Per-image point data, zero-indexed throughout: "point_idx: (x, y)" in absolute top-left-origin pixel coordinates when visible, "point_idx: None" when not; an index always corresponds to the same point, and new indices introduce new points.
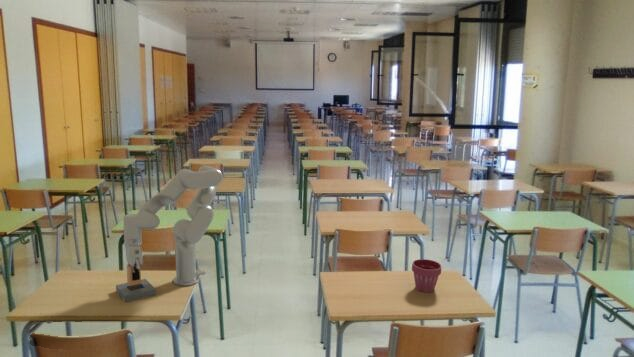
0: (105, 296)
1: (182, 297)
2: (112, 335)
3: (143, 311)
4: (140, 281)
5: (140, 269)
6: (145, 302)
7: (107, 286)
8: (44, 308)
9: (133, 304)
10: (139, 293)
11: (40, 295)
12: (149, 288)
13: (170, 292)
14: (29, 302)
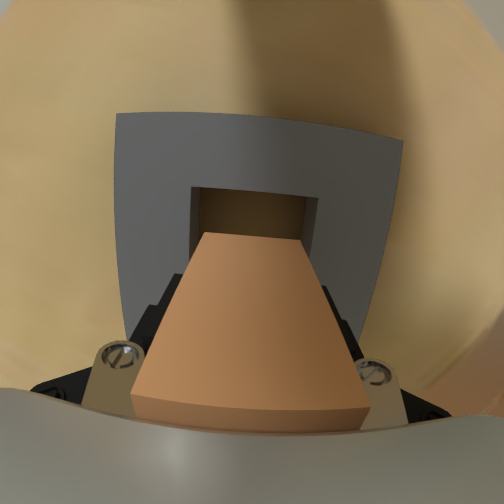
0: None
1: (495, 57)
2: (492, 409)
3: (486, 300)
4: (303, 253)
5: (343, 339)
6: (429, 253)
7: (59, 329)
8: None
9: (399, 316)
10: (373, 275)
11: None
12: (365, 178)
13: (405, 46)
14: None
